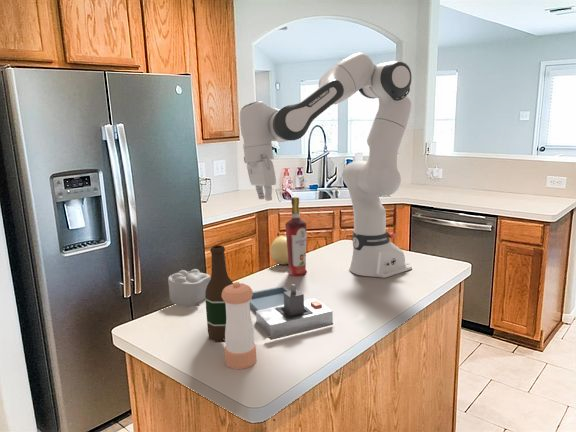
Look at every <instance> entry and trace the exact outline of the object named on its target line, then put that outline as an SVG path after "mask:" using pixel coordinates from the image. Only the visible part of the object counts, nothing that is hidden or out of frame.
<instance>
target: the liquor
mask: <svg viewBox="0 0 576 432" xmlns="http://www.w3.org/2000/svg"><path fill="white" fill-rule="evenodd" d="M290 200H291V201H290V202H291V219H289V220H288V221H287V222H285V224H284V225H285V226H284V227H285V235H286V239H287V249H288V264H287V265H288V271H287V273H288V275H290V276H291V277H292V276H293V277H300V276H304V275H306V274H307V273H308V271H307V267H306V265H307V261H306V260H307V259H306V258H307V251H306V250H307V226H308V225H307V222H306V221H305V220H303V219H301V214H300V207H299V206H300V196H291V199H290Z"/></svg>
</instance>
